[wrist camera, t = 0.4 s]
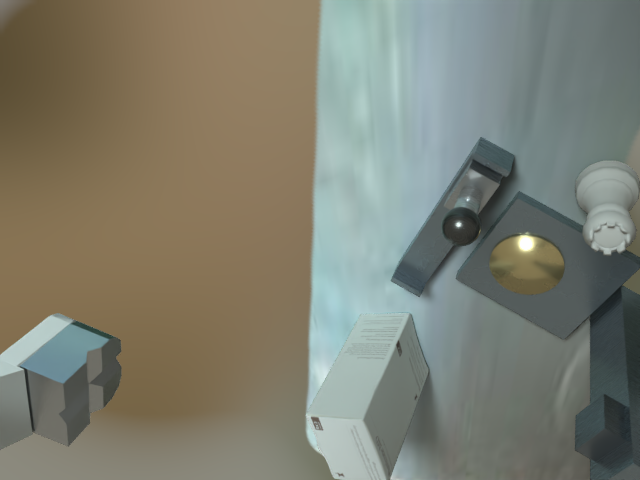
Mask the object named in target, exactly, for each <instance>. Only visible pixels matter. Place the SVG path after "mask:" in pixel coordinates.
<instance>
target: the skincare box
mask: <svg viewBox="0 0 640 480" xmlns="http://www.w3.org/2000/svg"><path fill="white" fill-rule="evenodd" d="M428 371H429V369H428V367H427V365H426V363H425V360H424V357H423V354H422V351H421V348H420V345H419V342H418V339H417V336H416V332H415V328H414V325H413V320H412V316H411V314H410V313H385V314H361V315H360V316H359V318H358V320H357V322H356V324H355V326H354V327H353V329H352V331H351V333H350V335H349V337H348V338H347V340H346V342H345V344H344V346H343V348H342V349H341V351H340V353H339V355H338V357H337V359H336V360H335V362H334V364H333V366H332V368H331V369H330V371H329V373H328V375H327V377H326V379H325V381H324V382H323V384H322V386H321V388H320V390H319V391H318V393H317V395H316V397H315V399H314V400H313V402H312V404H311V406H310V408H309V410H308V411H307V413H306V417H307V419H308V421H309V423H310V426H311V428H312V430H313V432H314V434H315V437H316V439H317V446H318V449H319V451H320V452H321V454H322V455H323V456H324V457H325V459H326V461H327V463H328V466H329V468H330V471H331V473H332V476H333V478H334V479H341V480H390V477H391V475H392V472H393V469H394V466H395V464H396V461H397V458H398V455H399V452H400V450H401V447H402V444H403V442H404V439H405V436H406V433H407V431H408V428H409V425H410V422H411V420H412V417H413V414H414V411H415V409H416V406H417V403H418V400H419V397H420V395H421V392H422V389H423V387H424V384H425V381H426V378H427V376H428Z"/></svg>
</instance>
